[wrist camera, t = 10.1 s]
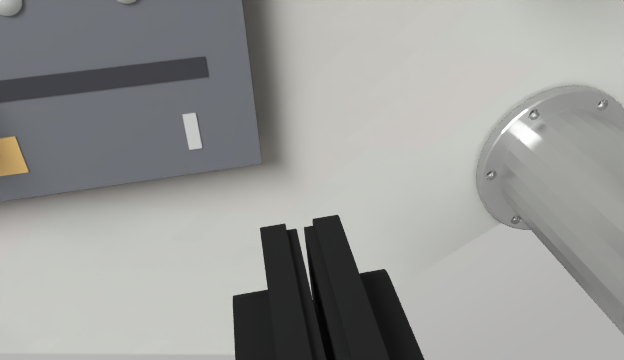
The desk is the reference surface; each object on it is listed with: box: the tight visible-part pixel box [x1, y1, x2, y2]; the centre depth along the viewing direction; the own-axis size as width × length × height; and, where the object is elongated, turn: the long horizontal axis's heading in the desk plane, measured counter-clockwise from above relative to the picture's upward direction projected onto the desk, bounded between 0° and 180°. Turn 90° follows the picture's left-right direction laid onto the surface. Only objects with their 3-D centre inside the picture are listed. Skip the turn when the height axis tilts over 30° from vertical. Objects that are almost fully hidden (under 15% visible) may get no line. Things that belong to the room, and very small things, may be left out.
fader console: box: [0, 0, 262, 202], centre depth 32 cm, size 24×14×3 cm, turn 94°
